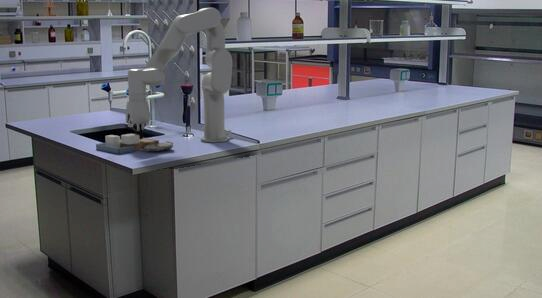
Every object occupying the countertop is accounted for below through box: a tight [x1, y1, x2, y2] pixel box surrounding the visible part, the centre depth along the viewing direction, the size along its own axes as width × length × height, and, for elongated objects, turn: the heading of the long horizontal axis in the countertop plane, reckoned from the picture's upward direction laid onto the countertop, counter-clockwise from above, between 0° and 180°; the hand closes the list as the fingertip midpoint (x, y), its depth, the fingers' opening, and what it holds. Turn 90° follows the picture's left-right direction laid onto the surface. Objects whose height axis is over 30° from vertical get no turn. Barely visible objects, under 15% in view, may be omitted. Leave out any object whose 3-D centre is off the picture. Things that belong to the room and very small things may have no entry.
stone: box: [144, 140, 174, 152], centre depth 254 cm, size 12×9×3 cm
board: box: [120, 137, 160, 152], centre depth 263 cm, size 14×15×3 cm
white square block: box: [120, 133, 140, 144], centre depth 256 cm, size 6×6×4 cm
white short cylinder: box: [104, 134, 121, 148], centre depth 257 cm, size 6×6×4 cm
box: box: [95, 142, 135, 155], centre depth 254 cm, size 8×16×2 cm, turn 51°
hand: (139, 139), depth 260 cm, fingers closed
